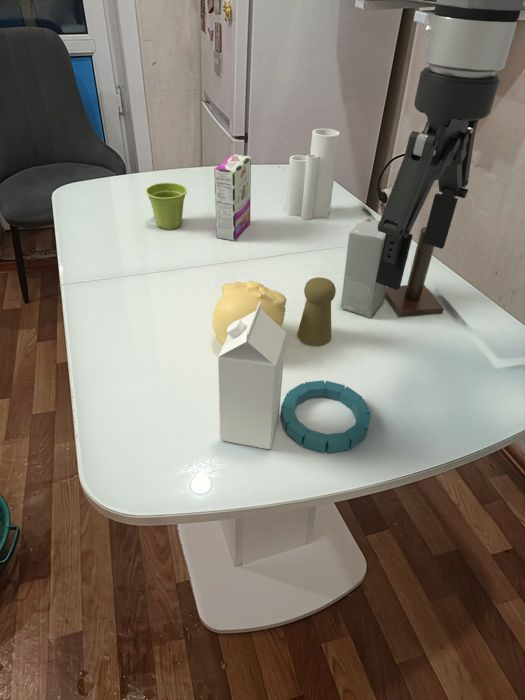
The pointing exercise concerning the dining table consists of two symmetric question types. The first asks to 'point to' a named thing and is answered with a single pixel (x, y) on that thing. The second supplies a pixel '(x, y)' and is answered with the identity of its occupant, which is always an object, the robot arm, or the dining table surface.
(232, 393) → the milk carton
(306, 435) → the ring
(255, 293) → the sculpture
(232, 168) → the candy bar box
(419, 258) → the post
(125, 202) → the dining table surface
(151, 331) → the dining table surface
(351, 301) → the cosmetic box
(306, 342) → the brown pawn
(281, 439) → the dining table surface
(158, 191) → the plant pot
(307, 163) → the vase
